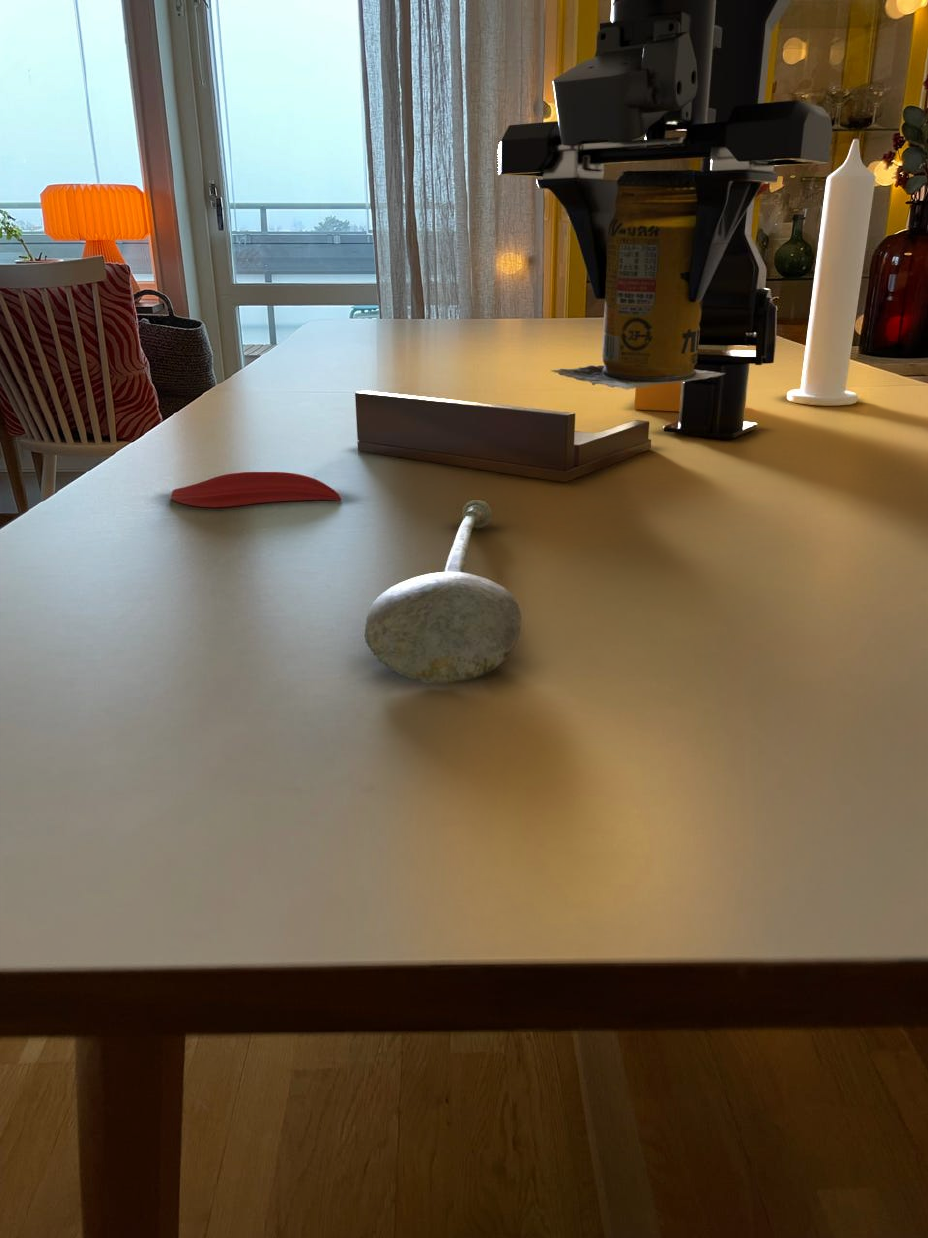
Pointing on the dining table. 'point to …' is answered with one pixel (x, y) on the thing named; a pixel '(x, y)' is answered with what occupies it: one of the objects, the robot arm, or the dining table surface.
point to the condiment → (649, 285)
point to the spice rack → (491, 436)
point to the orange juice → (665, 391)
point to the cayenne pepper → (253, 489)
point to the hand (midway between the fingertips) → (646, 300)
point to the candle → (837, 284)
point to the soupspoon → (445, 618)
